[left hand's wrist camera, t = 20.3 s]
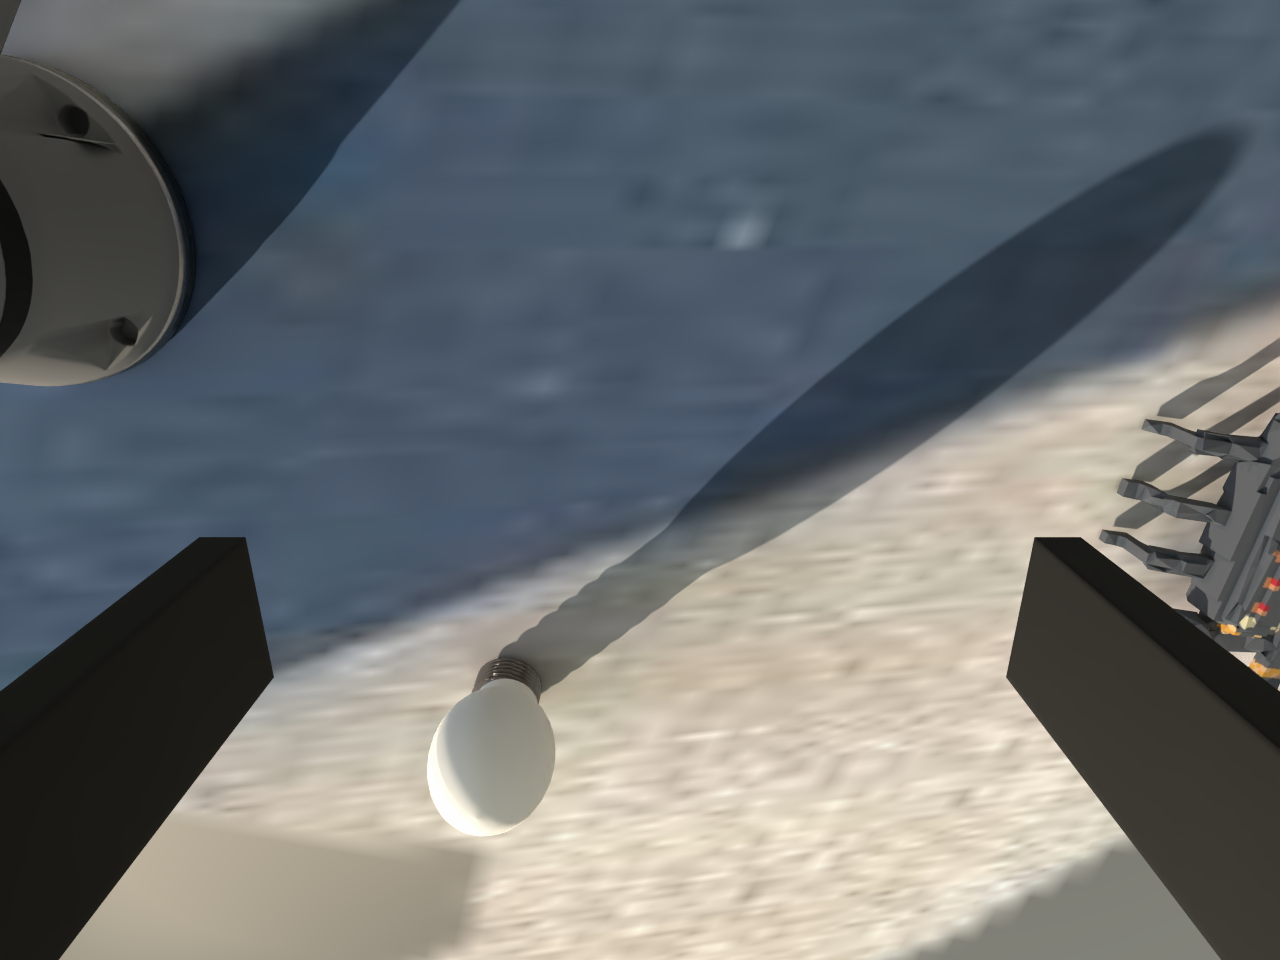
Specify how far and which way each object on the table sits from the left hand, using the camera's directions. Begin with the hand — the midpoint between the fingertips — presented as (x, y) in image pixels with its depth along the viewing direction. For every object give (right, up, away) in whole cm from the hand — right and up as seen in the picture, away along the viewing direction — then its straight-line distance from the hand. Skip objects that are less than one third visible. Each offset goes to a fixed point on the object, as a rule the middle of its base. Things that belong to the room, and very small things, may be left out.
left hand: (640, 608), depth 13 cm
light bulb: (-8, -10, +35) cm, 37 cm away
